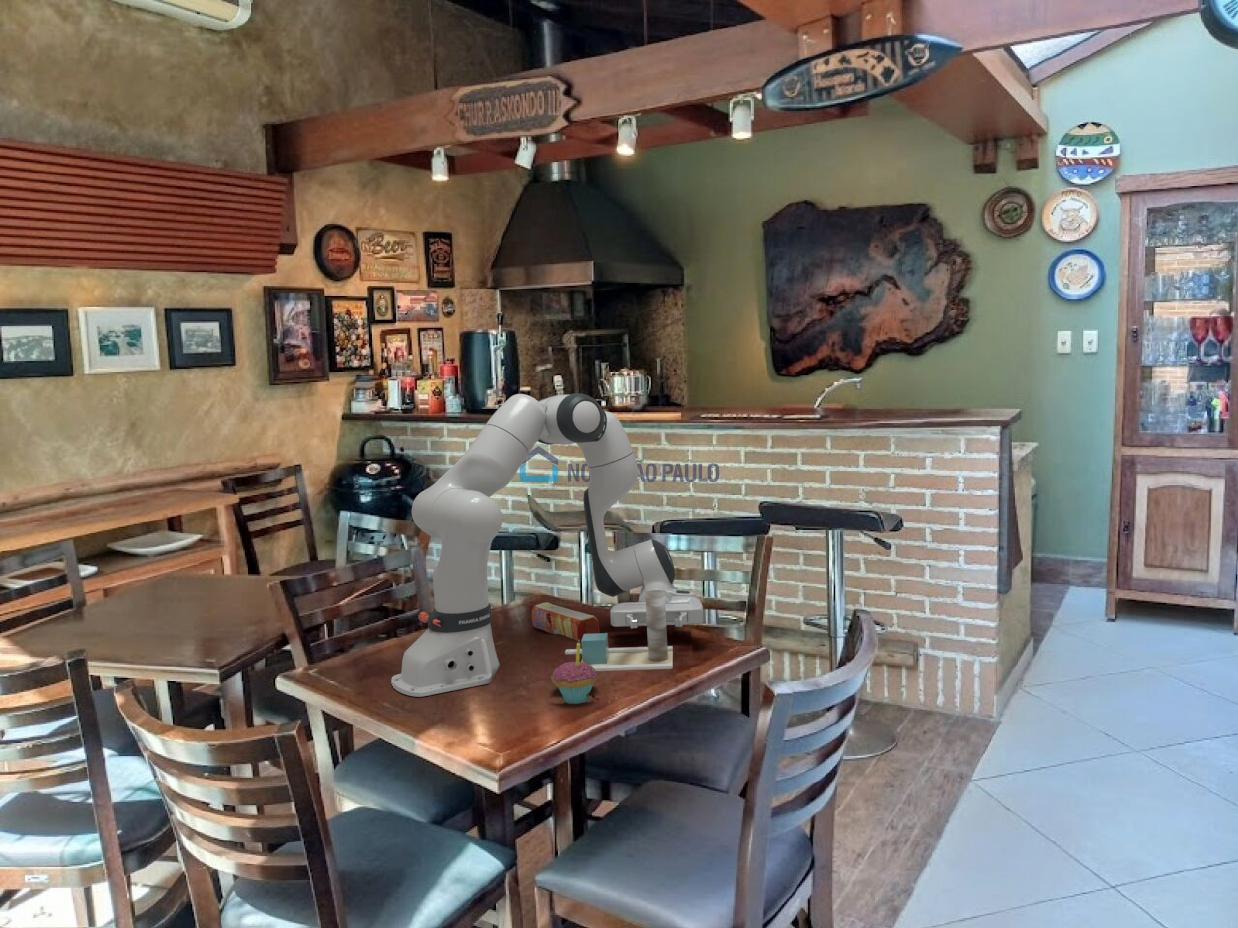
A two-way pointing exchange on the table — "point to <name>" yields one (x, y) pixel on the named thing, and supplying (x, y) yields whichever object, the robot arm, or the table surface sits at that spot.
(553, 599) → the table surface
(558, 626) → the snack package
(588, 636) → the cube
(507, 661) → the table surface
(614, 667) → the lane
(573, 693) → the cupcake
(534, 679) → the table surface
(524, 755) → the table surface
